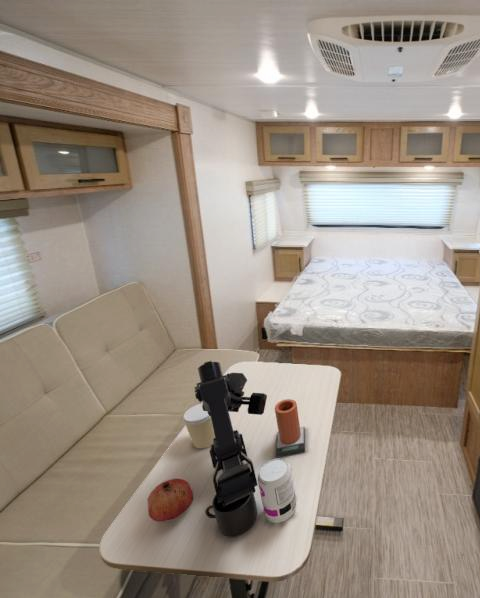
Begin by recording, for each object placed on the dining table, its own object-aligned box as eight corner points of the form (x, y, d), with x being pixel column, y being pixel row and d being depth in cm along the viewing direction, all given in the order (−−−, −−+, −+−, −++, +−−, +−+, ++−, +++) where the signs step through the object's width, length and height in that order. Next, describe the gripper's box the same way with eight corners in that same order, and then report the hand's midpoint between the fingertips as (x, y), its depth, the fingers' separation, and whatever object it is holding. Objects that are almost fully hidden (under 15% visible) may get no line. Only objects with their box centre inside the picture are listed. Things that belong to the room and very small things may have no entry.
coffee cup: (227, 430, 120) (220, 403, 116) (211, 451, 112) (203, 422, 107) (202, 428, 121) (194, 401, 117) (184, 449, 113) (175, 420, 108)
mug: (214, 508, 94) (207, 484, 90) (260, 500, 96) (255, 477, 92) (203, 543, 85) (195, 518, 82) (254, 534, 87) (248, 509, 84)
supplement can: (264, 528, 89) (255, 487, 83) (266, 500, 96) (258, 460, 90) (296, 520, 91) (289, 479, 85) (296, 493, 98) (290, 453, 92)
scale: (305, 451, 112) (304, 447, 111) (276, 457, 110) (275, 452, 109) (304, 430, 121) (304, 425, 120) (278, 435, 119) (277, 430, 118)
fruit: (204, 495, 97) (196, 469, 93) (182, 530, 88) (173, 503, 84) (167, 494, 98) (158, 468, 94) (142, 528, 88) (131, 501, 85)
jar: (288, 447, 111) (283, 415, 106) (275, 438, 114) (270, 407, 109) (304, 435, 116) (300, 404, 111) (292, 426, 119) (287, 396, 114)
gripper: (259, 373, 101) (279, 381, 115) (199, 369, 102) (226, 378, 117) (250, 412, 96) (272, 416, 111) (188, 408, 98) (218, 413, 112)
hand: (247, 405), depth 113 cm, fingers open, 9 cm apart
